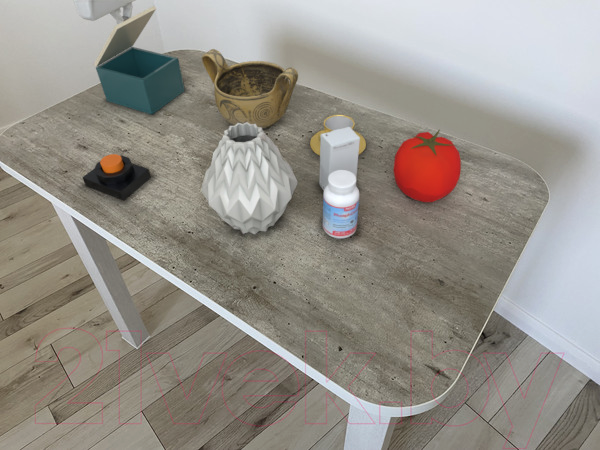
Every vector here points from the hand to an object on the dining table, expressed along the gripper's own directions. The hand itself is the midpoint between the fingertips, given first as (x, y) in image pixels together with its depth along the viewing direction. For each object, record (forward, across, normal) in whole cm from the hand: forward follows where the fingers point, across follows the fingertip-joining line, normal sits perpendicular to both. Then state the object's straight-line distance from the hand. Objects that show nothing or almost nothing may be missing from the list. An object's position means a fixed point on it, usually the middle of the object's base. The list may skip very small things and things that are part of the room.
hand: (125, 25), depth 109 cm
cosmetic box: (+18, +11, +59) cm, 62 cm away
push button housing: (+17, +29, +18) cm, 39 cm away
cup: (+18, -2, +53) cm, 56 cm away
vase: (+18, +26, +48) cm, 58 cm away
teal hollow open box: (+17, 0, +1) cm, 17 cm away
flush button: (+14, +29, +19) cm, 37 cm away
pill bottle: (+18, +21, +64) cm, 69 cm away
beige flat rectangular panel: (+3, 0, -1) cm, 3 cm away
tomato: (+18, +5, +74) cm, 76 cm away
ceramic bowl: (+18, -2, +32) cm, 36 cm away
